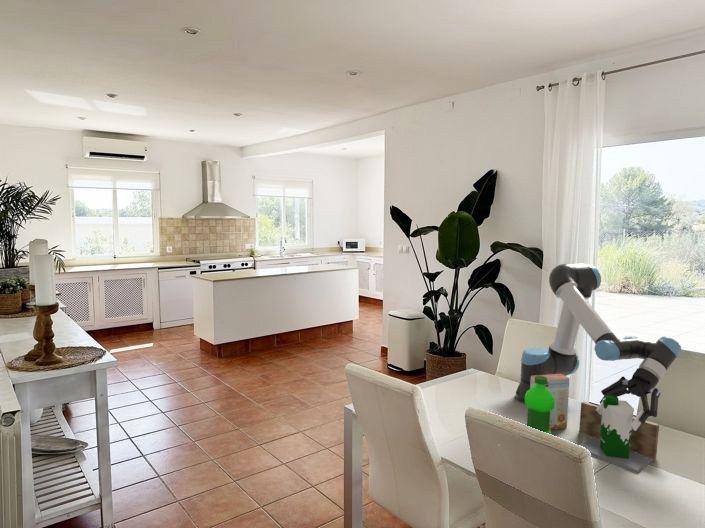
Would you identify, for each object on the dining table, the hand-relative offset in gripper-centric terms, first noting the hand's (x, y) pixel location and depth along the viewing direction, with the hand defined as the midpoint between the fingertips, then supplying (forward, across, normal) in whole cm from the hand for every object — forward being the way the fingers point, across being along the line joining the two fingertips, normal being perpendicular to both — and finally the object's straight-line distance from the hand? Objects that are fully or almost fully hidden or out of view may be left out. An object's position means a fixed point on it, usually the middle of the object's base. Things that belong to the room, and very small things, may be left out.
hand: (614, 420), depth 164 cm
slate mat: (+9, 0, -10) cm, 13 cm away
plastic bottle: (+23, +16, +4) cm, 28 cm away
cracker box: (+13, +26, -6) cm, 29 cm away
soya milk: (+8, 0, -9) cm, 12 cm away
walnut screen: (+3, +6, -16) cm, 17 cm away
